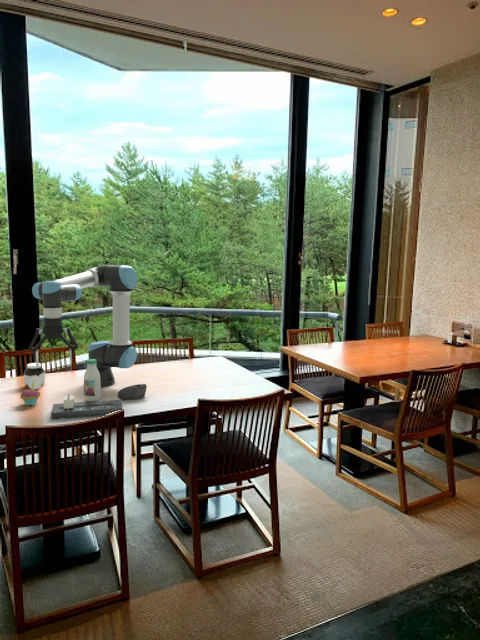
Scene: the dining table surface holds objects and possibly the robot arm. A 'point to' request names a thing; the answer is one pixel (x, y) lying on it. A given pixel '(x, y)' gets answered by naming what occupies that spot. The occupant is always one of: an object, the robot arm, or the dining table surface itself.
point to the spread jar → (34, 376)
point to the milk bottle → (92, 382)
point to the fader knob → (68, 401)
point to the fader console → (86, 409)
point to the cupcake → (30, 396)
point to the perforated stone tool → (132, 392)
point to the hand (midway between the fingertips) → (54, 365)
